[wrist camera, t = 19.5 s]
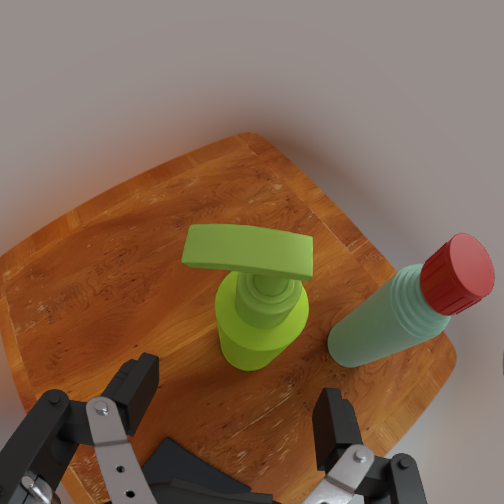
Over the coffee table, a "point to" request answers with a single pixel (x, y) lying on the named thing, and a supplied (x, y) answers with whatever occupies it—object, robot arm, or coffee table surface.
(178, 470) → the mat
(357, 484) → the robot arm
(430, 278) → the cap
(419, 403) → the coffee table surface
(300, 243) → the soap dispenser
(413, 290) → the bottle
